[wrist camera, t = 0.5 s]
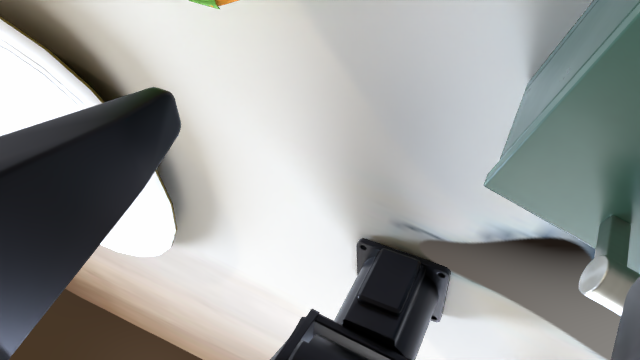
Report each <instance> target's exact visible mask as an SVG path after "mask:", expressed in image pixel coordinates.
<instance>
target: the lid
mask: <svg viewBox="0 0 640 360" xmlns="http://www.w3.org/2000/svg"><path fill="white" fill-rule="evenodd" d="M484 186H485V187H486V188H488V189H490V190H492V191H494V192H495V193H497V194H499V195H501V196H502V197H504V198H506V199H508V200H510V201H511V202H513V203H515V204H517V205H518V206H520V207H522V208H524V209H525V210H527V211H529V212H531V213H533V214H534V215H536V216H538V217H540V218H541V219H543V220H545V221H547V222H549V223H550V224H552V225H554V226H556V227H557V228H559V229H561V230H563V231H564V232H566V233H568V234H570V235H572V236H573V237H575V238H577V239H579V240H580V241H582V242H584V243H586V244H588V245H589V246H591V247H593V248H595V249H596V250H595V257H594V259H593V260H592V261H591V262H590V263H589V264H588V265H587V267H586V268H585V270H584V271H583V273H582V275H581V277H580V281H579V290H580V292H581V293H582V294H583V295H585V296H587V297H589V298H591V299H592V300H594V301H596V302H597V303H599V304H601V305H603V306H604V307H606V308H608V309H610V310H611V311H613V312H615V313H617V314H618V315H620V316H621V315H622V311H623V306H624V302H625V298H626V296H627V293H628V291H629V289H630V288H631V286H632V285H633V284H634V283H635V281H636V280H637V279H638V278H639V277H640V3H639V4H638V6H637V7H636V8H635V9H634V10H633V11H632V12H631V13H630V15H629V16H628V17H627V18H626V19H625V20H624V21H623V22H622V24H621V25H620V26H619V27H618V28H617V29H616V30H615V31H614V33H613V34H612V35H611V36H610V37H609V38H608V39H607V40H606V42H605V43H604V44H603V45H602V46H601V47H600V48H599V49H598V51H597V52H596V53H595V54H594V55H593V56H592V57H591V59H590V60H589V61H588V62H587V63H586V64H585V65H584V66H583V68H582V69H581V70H580V71H579V72H578V73H577V74H576V75H575V77H574V78H573V79H572V80H571V81H570V82H569V83H568V84H567V86H566V87H565V88H564V89H563V90H562V91H561V92H560V93H559V95H558V96H557V97H556V98H555V99H554V100H553V101H552V102H551V104H550V105H549V106H548V107H547V108H546V109H545V110H544V111H543V113H542V114H541V115H540V116H539V117H538V118H537V119H536V120H535V122H534V123H533V124H532V125H531V126H530V127H529V128H528V129H527V131H526V132H525V133H524V134H523V135H522V136H521V137H520V138H519V140H518V141H517V142H516V143H515V144H514V145H513V146H512V147H511V149H510V150H509V151H508V152H507V153H506V154H505V155H504V156H503V158H502V159H501V160H500V161H499V162H498V163H497V164H496V166H495V167H494V168H493V169H492V170H491V171H490V172H489V173H488V175H487V178H486V180H485V183H484Z"/></svg>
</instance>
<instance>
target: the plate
mask: <svg viewBox="0 0 640 360" xmlns="http://www.w3.org/2000/svg"><path fill="white" fill-rule="evenodd" d="M101 103H104V101H103V100H102V98H101V97H100V96H99V95H98V94H97V93H96V92H95V91H94V90H93V88H91V87H90V86H89V85H88V84H87V83H86V82H85V81H84V80H82V79H81V78H80V77H79V76H78V75H77V74H76V73H75V72H74V71H72V70H71V69H70V68H69V67H68V66H67V65H66V64H65V63H63V62H62V61H61V60H60V59H59V58H58V57H57V56H56V55H54V54H53V53H52V52H51V51H50V50H49V49H47V48H46V47H44V46H43V45H41V44H40V43H39V42H37V41H36V40H34V39H33V38H31V37H30V36H28V35H27V34H26V33H24V32H23V31H21V30H20V29H18V28H17V27H15V26H14V25H12V24H11V23H10V22H8V21H7V20H5V19H4V18H2V17H0V136H2V135H5V134H8V133H11V132H14V131H17V130H20V129H24V128H27V127H30V126H33V125H36V124H39V123H42V122H45V121H48V120H52V119H55V118H58V117H61V116H64V115H67V114H70V113H73V112H76V111H80V110H83V109H86V108H89V107H92V106H95V105H98V104H101ZM176 231H177V226H176V220H175V215H174V209H173V204H172V202H171V199H170V197H169V195H168V193H167V191H166V189H165V187H164V184H163V182H162V180H161V178H160V176H159V174H158V172H157V169H156V171H155V172H154V174H153V175H152V177H151V179H150V180H149V182H148V183H147V185H146V186H145V188H144V189H143V190H142V192H141V193H140V194H139V196H138V197H137V198H136V200H135V201H134V202H133V203H132V205H131V206H130V207H129V208H128V210H127V211H126V212H125V213H124V215H123V216H122V217H121V218H120V220H119V221H118V222H117V224H116V225H115V226H114V227H113V229H112V230H111V231H110V232H109V234H108V235H107V236H106V237H105V239H104V240H103V241H102V242H101V244H100V245H102V246H105V247H107V248H109V249H112V250H114V251H117V252H120V253H125V254H129V255H134V256H138V257H148V256H159V255H161V254H162V253H163V252H165V251H166V250H168V249H169V248H171V247H172V245H173V241H174V238H175V234H176Z"/></svg>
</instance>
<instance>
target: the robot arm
mask: <svg viewBox="0 0 640 360" xmlns="http://www.w3.org/2000/svg"><path fill="white" fill-rule="evenodd" d="M180 128H181V121H180V117H179V113H178V109H177V106H176V102H175V98H174V96H173V95H172V93H170V92H168V91H166V90H163V89H160V88H156V87H151V88H148V89H145V90H142V91H139V92H135V93H132V94H129V95H126V96H123V97H120V98H117V99H114V100H111V101H107V102H104V103H101V104H98V105H95V106H92V107H89V108H86V109H83V110H80V111H76V112H73V113H70V114H67V115H64V116H61V117H58V118H55V119H52V120H48V121H45V122H42V123H39V124H36V125H33V126H30V127H27V128H24V129H20V130H17V131H14V132H11V133H8V134H5V135H2V136H0V360H9V359H10V355H12V354H13V353H14V352H15V351H16V349H17V348H18V347H19V346H20V344H21V343H22V342H23V341H24V339H25V338H26V337H27V336H28V334H29V333H30V332H31V331H32V329H33V328H34V327H35V325H36V324H37V323H38V322H39V321H40V319H41V318H42V317H43V315H44V314H45V313H46V312H47V310H48V309H49V308H50V307H51V305H52V304H53V303H54V302H55V300H56V299H57V298H58V296H59V295H60V294H61V293H62V291H63V290H64V289H65V288H66V286H67V285H68V284H69V283H70V281H71V280H72V279H73V278H74V276H75V275H76V274H77V273H78V271H79V270H80V269H81V268H82V266H83V265H84V264H85V263H86V261H87V260H88V259H89V258H90V256H91V255H92V254H93V252H94V251H95V250H96V249H97V247H98V246H99V245H100V244H101V242H102V241H103V240H104V239H105V237H106V236H107V235H108V234H109V232H110V231H111V230H112V229H113V227H114V226H115V225H116V224H117V222H118V221H119V220H120V218H121V217H122V216H123V215H124V213H125V212H126V211H127V210H128V208H129V207H130V206H131V205H132V203H133V202H134V201H135V200H136V198H137V197H138V196H139V194H140V193H141V192H142V190H143V189H144V188H145V186H146V185H147V183H148V182H149V180H150V179H151V177H152V175H153V174H154V172H155V171H156V169H157V167H158V166H159V164H160V163H161V161H162V160H163V158H164V156H165V155H166V153H167V152H168V150H169V149H170V147H171V145H172V144H173V142H174V141H175V139H176V138H177V136H178V134H179V132H180ZM450 274H451V271H450V270H449V269H448V268H447V267H445V266H442V265H439V264H436V263H434V262H431V261H428V260H425V259H422V258H419V257H416V256H413V255H411V254H408V253H405V252H402V251H399V250H396V249H393V248H390V247H388V246H385V245H382V244H379V243H376V242H373V241H370V240H368V239H364V238H361V239H359V241H358V243H357V275H358V276H357V278H356V280H355V282H354V284H353V286H352V288H351V290H350V291H349V293H348V295H347V297H346V299H345V301H344V303H343V305H342V307H341V309H340V311H339V313H338V314H337V316H336V318H335V320H334V321H333V320H331V319H329V318H327V317H325V316H323V315H321V314H319V312H318V311H316V310H314V309H311V311H310V312H309V314H308V315H307V317H302V318H301V319H300V321H299V323H298V325H297V326H296V328H295V330H294V331H293V333H292V335H291V336H290V338H289V339H288V340H287V341H286V342H285V344H284V345H283V346H282V347H281V348H280V349H279V350H278V351H277V352H276V354H275V355H274V356H273V357H272V358H271V359H270V360H415V359H416V356H417V353H418V351H419V348H420V346H421V343H422V340H423V338H424V335H425V333H426V330H427V327H428V325H429V322H430V320H431V321H434V322H439V321H440V320H441V317H442V313H443V308H444V303H445V298H446V294H447V289H448V284H449V279H450ZM611 360H640V277H639V278H638V279H637V280H636V281H635V283H634V284H633V285H632V286H631V288H630V289H629V291H628V293H627V296H626V298H625V302H624V306H623V311H622V315H621V319H620V323H619V328H618V332H617V336H616V340H615V345H614V349H613V353H612V357H611Z"/></svg>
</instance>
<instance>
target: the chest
mask: <svg viewBox="0 0 640 360" xmlns="http://www.w3.org/2000/svg"><path fill="white" fill-rule="evenodd" d="M639 3H640V0H594V1H593V2H592V3H591V5H590V6H589V7H588V8H587V10H586V11H585V12H584V13H583V15H582V16H581V17H580V18H579V20H578V21H577V22H576V23H575V25H574V26H573V27H572V28H571V30H570V31H569V32H568V33H567V35H566V36H565V37H564V38H563V40H562V41H561V42H560V43H559V45H558V46H557V47H556V48H555V50H554V51H553V52H552V53H551V55H550V56H549V57H548V59H547V60H546V61H545V62H544V64H543V65H542V66H541V67H540V69H539V70H538V71H537V72H536V74H535V75H534V76H533V77H532V79H531V80H530V81H529V82H528V84H527V87H526V89H525V92H524V95H523V98H522V101H521V103H520V106H519V109H518V111H517V114H516V117H515V120H514V122H513V125H512V128H511V130H510V133H509V136H508V139H507V141H506V144H505V147H504V149H503V152H502V155H501V158H500V160H501V159H502V158H503V156H504V155H505V154H506V153H507V152H508V151H509V150H510V149H511V147H512V146H513V145H514V144H515V143H516V142H517V141H518V140H519V138H520V137H521V136H522V135H523V134H524V133H525V132H526V131H527V129H528V128H529V127H530V126H531V125H532V124H533V123H534V122H535V120H536V119H537V118H538V117H539V116H540V115H541V114H542V113H543V111H544V110H545V109H546V108H547V107H548V106H549V105H550V104H551V102H552V101H553V100H554V99H555V98H556V97H557V96H558V95H559V93H560V92H561V91H562V90H563V89H564V88H565V87H566V86H567V84H568V83H569V82H570V81H571V80H572V79H573V78H574V77H575V75H576V74H577V73H578V72H579V71H580V70H581V69H582V68H583V66H584V65H585V64H586V63H587V62H588V61H589V60H590V59H591V57H592V56H593V55H594V54H595V53H596V52H597V51H598V49H599V48H600V47H601V46H602V45H603V44H604V43H605V42H606V40H607V39H608V38H609V37H610V36H611V35H612V34H613V33H614V31H615V30H616V29H617V28H618V27H619V26H620V25H621V24H622V22H623V21H624V20H625V19H626V18H627V17H628V16H629V15H630V13H631V12H632V11H633V10H634V9H635V8H636V7H637V6H638V4H639Z"/></svg>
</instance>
